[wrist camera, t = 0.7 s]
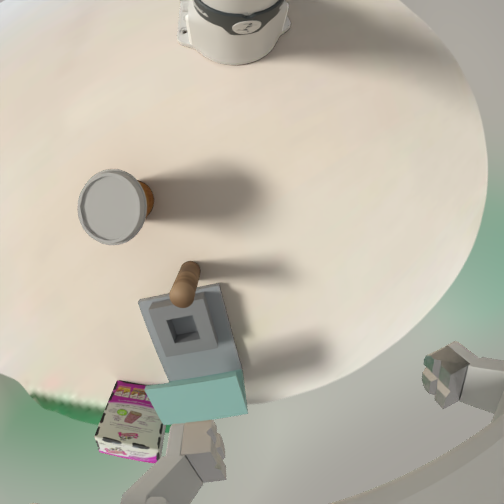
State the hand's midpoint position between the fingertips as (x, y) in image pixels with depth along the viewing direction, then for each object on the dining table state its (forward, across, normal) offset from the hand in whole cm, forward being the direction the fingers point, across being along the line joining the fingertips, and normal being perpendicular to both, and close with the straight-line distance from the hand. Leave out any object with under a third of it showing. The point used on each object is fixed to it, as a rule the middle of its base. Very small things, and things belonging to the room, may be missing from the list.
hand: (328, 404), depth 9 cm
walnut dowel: (+39, +10, +4) cm, 40 cm away
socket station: (+39, +13, +16) cm, 44 cm away
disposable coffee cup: (+39, +16, -9) cm, 43 cm away
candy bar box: (+39, +27, +27) cm, 55 cm away
